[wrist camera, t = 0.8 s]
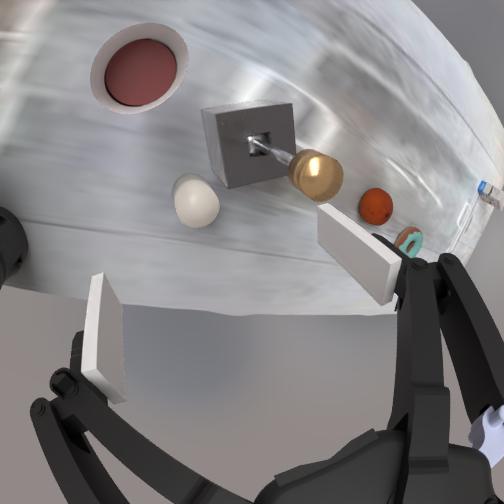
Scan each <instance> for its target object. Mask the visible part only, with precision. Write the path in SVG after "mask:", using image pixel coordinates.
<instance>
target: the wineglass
mask: <svg viewBox="0 0 504 504" xmlns="http://www.w3.org/2000/svg"><path fill="white" fill-rule="evenodd" d="M188 60H189V57H188V50H187V46H186V44H185V42H184V40H183V39H182V37H181V36H180V35H179V34H178V33H177V32H176V31H175V30H173V29H171V28H170V27H167V26H165V25H162V24H156V23H144V24H138V25H134V26H131V27H128V28H126V29H124V30H122V31H120V32H118V33H117V34H115V35H114V36H113V37H111V38H110V39H109V40H108V41H107V42H106V43H105V44H104V45H103V47H102V48H101V49H100V51H99V52H98V54H97V56H96V57H95V59H94V62H93V65H92V69H91V74H90V83H91V88H92V91H93V94H94V96H95V98H96V99H97V100H98V102H99V103H100V104H101V105H102V106H104V107H105V108H107V109H109V110H110V111H113V112H116V113H121V114H135V113H141V112H144V111H147V110H150V109H152V108H154V107H156V106H158V105H159V104H161V103H163V102H164V101H165V100H166V99H168V98H169V97H170V96H171V95H172V94H173V93H174V92H175V91H176V89H177V88H178V87H179V86H180V84H181V82H182V81H183V79H184V76H185V74H186V71H187V67H188Z"/></svg>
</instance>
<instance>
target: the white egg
mask: <svg viewBox="0 0 504 504" xmlns="http://www.w3.org/2000/svg"><path fill="white" fill-rule="evenodd" d="M172 197H173V201H174V205H175V209H176V213H177V216H178V218H179V220H180V221H181V222H182V223H183V224H184V225H186V226H188V227H191V228H202V227H205V226H207V225H209V224H210V223H212V222H213V221H214V220H215V218H216V217H217V215H218V213H219V208H220V204H219V200H218V197H217V196H216V194H215V193H214V191H213V190H212V188H211V187H210V185H209V184H208V182H207V181H206V179H205V178H203V177H202V176H200V175H198V174H187V175H184V176H182V177H180V178H179V179H178V180H177V181H176V182H175V184H174V186H173V189H172Z"/></svg>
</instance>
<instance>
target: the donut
mask: <svg viewBox="0 0 504 504" xmlns="http://www.w3.org/2000/svg"><path fill="white" fill-rule="evenodd" d="M422 241H423V236H422V233H421V231H420V230H419V229H418V228H415V227H409V228H407V229H405V230H404V231H403V232H402V233H401V234H400V235H399V237H398V238H397V240H396V242H395V245H394V246H396V247H397V248H398V249H400V250H401V251H402V252H403V253H405V254H406V255H407V256H409V257H410V258H414V257H415V256H416V255H417V253H418V252H419V250H420V248H421V245H422ZM409 243H410V244H409ZM407 246H408V247H407Z"/></svg>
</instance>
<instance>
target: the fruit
mask: <svg viewBox="0 0 504 504" xmlns="http://www.w3.org/2000/svg"><path fill="white" fill-rule="evenodd" d="M392 212H393V202H392V199H391V197H390V195H389V194H388V193H387V192H385V191H384V190H382V189H380V188H373V189H371V190H368V191H367V192H366V193H365V194H364V196H363V197H362V200H361V202H360V214H361V216H362V218H363V219H364V220H365V221H366V222H367V223H370V224H372V225H382V224H384V223H386V222H387V221H388V220H389V218H390V216H391V214H392Z"/></svg>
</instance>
